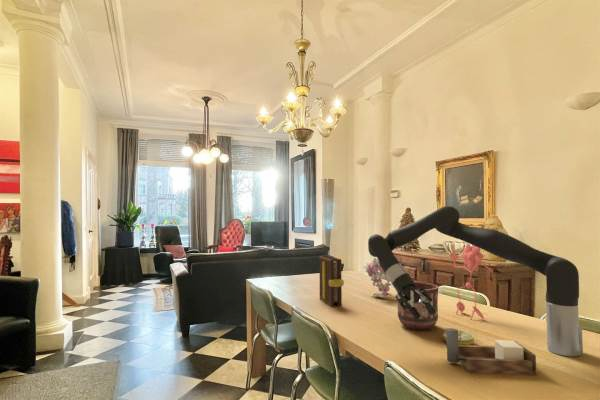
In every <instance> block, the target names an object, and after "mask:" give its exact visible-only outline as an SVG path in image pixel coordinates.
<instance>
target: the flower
mask: <svg viewBox="0 0 600 400" xmlns="http://www.w3.org/2000/svg"><path fill="white" fill-rule="evenodd" d="M365 264H366V265H363V266H362V268H364V269H365V270H364V272H365V273H367V274H368V276H369V277H370V280H371V282H372V286H373V287H377V289H378V292H380V293H378V292H375V293H373V295H372V297H374V296H377V297H379V298H382V299H386V297H387V294H388V292H389V291H390V286H393V285H392V284H391V282H390V281H389V279H388V277H387V275H386V274H385V272H384V271H383V269H382V268H381V266H380V264H379V260H378V258H377V257H374V258H373V259H372V262H370V263H369V262H366V263H365ZM382 279H384V280H385V281H386V282H384V283H383V282H382ZM381 292H382V294H381Z"/></svg>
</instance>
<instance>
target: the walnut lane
mask: <svg viewBox="0 0 600 400" xmlns="http://www.w3.org/2000/svg"><path fill="white" fill-rule="evenodd" d="M514 341H515V342H516V343H517V344H519V345H520V346H522V347H523V353H524V360H510V359H495V345H494V346H493V345H459V357H468V358H466V361H459V363H460V364H461V366H462V367H463V369H465V371H466V372H467V373H468V372H470V373H471V374H473V373H474V374H492V373H493V375H495V374H497V375H498V374H499V375H516V374H527V375H526V376H537V360H536V359H537V358H536V357H537V356H536V354H535V353H533V352H532V351H530V350H528V349H527V348H526V347H525V346H523V345H522V344H520V343H519V342H517V341H516V340H514ZM484 358H494V359H484Z"/></svg>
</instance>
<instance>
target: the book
mask: <svg viewBox="0 0 600 400" xmlns="http://www.w3.org/2000/svg"><path fill="white" fill-rule="evenodd" d="M318 259H319V261H318V262H319V300H320V301H322V302H323V303H325V304H327V305H328V306H329V307H331V308H333V307H334V308H335V305H337V306H338V307H341V306H342V305H343V301H342V295H343V293H342V292H343V290H342V287H343V286H344V282H345V280H344V279H342V259H341V258H338V257H335V256H331V255H319V257H318Z"/></svg>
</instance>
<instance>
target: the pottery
mask: <svg viewBox="0 0 600 400" xmlns="http://www.w3.org/2000/svg"><path fill="white" fill-rule="evenodd" d="M414 282H415V287H416V288H417V289H420V288H421V287H422V288H424V290H425V291H426V292H427V293H428V295H429V296H430V297H431V299H432V301H431V302H430V304H431V305H432V306H433V308H434V309H435V311H436V313H435V314H434V315H431V314H430V313H429V312H428V310H427V309H426V307H425V306H424V305H423V304H421V303H420V304H419V303H418V302H414V303H413V304H414V307H415V308H416V309H417V311H418V312H419V314H420V315H421V317H420V318H419V319H415V318H414V316H413V315H412V313H411V312H410V311H409V310H407V309H406V310H404V309H403V308H402V306H401V305H400V303H399V302H398V301H397V317H398V319H399V321H400V323H401V324H402V325H403V327H404V328H406V329H408V330H412V331H417V332H424V331H430V330H431V329H432V328H433V327H434V326H435V325H436V324H437V322H438V320H439V310H438V309H439V308H438V307H439V305H438V301H439V300H438V299H439V289H440V288H439V286H438V285H436V284H432V283H428V282H421V281H414ZM397 294H398V292H397V291H396V295H397ZM421 298H422V297H420V299H421ZM426 299H428V298H427V297H426ZM423 302H425V301H424V300H423ZM403 304H404V305H405V303H404V302H403Z"/></svg>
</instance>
